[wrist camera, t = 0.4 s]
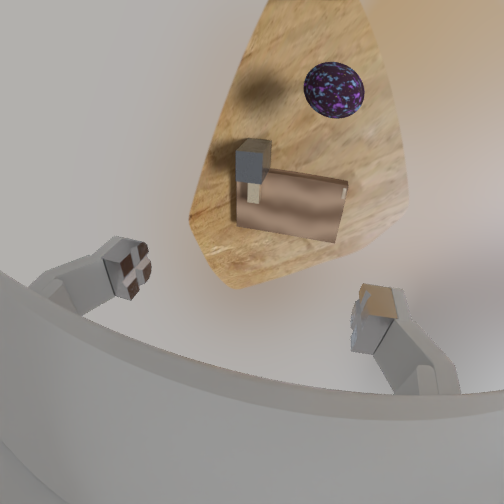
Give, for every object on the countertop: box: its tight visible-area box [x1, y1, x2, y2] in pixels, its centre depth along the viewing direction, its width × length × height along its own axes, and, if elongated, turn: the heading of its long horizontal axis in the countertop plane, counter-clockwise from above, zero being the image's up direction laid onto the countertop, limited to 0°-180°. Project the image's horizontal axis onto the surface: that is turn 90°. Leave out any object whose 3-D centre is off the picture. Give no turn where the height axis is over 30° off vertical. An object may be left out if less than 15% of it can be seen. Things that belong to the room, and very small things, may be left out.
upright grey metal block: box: [236, 138, 272, 204], centre depth 43 cm, size 10×4×7 cm, turn 178°
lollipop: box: [304, 62, 364, 118], centre depth 28 cm, size 7×7×15 cm
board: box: [237, 168, 348, 243], centre depth 48 cm, size 12×19×2 cm, turn 88°
